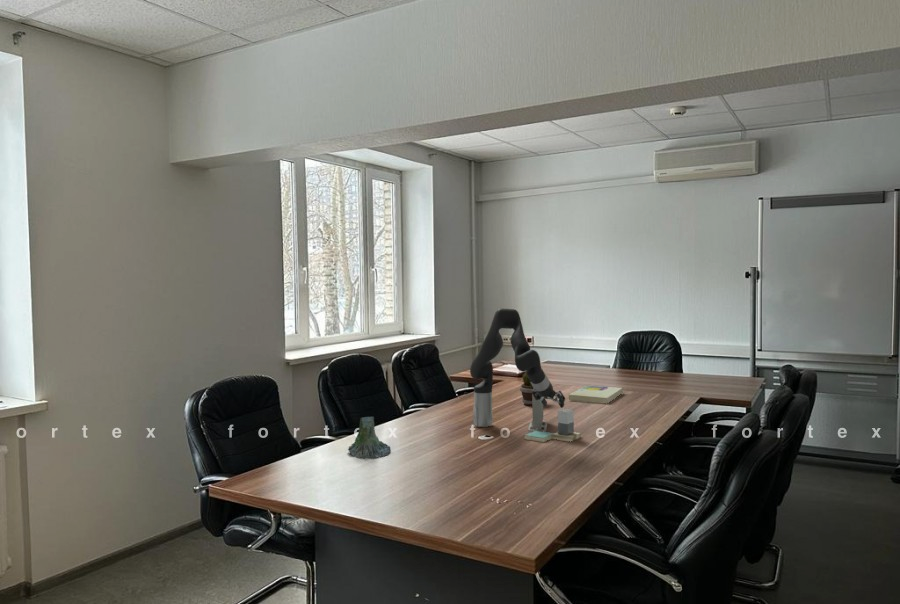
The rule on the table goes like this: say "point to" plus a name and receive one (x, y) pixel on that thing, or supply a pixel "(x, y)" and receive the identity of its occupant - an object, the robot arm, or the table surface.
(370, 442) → the tree stump
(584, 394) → the puzzle box
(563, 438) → the stand
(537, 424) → the network device
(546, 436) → the stand
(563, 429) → the grey rectangular block
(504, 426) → the table surface
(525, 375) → the flowerpot
